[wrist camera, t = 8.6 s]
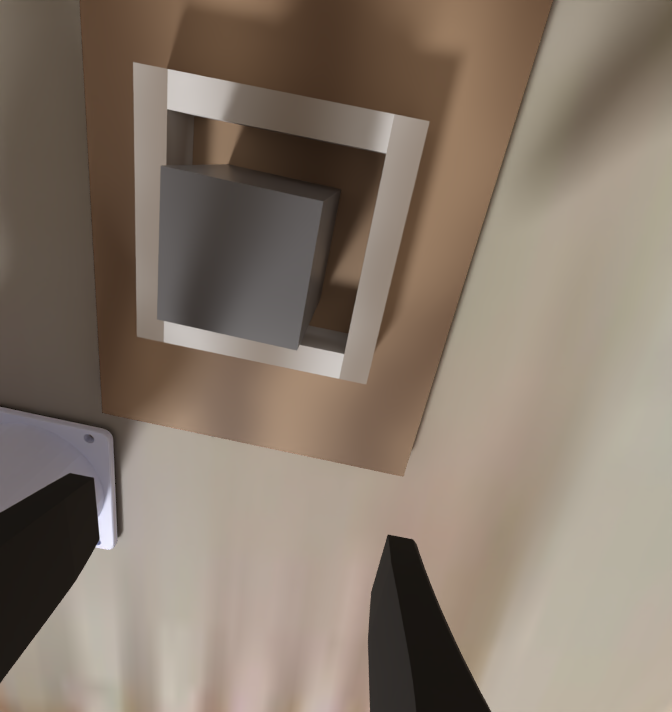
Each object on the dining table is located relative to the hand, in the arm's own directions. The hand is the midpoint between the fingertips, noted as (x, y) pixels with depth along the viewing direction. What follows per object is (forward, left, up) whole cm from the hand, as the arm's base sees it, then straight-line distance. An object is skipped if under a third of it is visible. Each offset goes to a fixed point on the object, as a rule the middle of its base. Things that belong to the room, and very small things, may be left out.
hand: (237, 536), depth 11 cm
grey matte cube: (-2, +6, -8) cm, 10 cm away
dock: (-2, +6, -9) cm, 11 cm away
